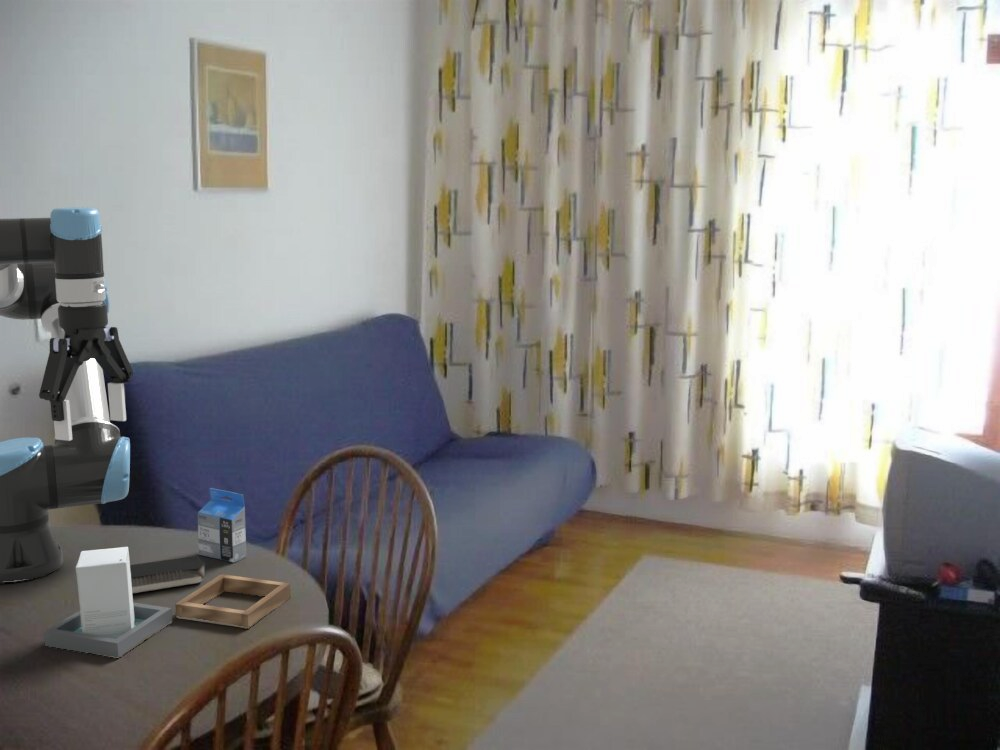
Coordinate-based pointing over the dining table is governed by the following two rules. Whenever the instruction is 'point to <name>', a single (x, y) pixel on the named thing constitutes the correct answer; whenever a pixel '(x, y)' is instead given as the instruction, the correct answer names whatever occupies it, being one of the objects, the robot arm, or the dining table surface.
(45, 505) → the robot arm
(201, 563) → the black scrub brush
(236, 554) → the label tape box
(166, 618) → the grey teal square tray
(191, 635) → the dining table surface
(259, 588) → the wooden picture frame
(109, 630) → the supplement box
